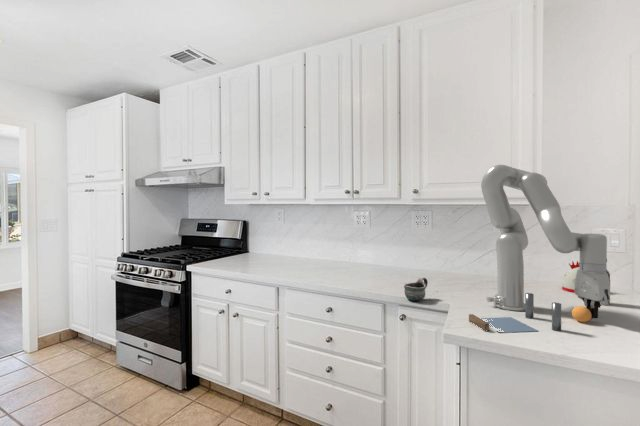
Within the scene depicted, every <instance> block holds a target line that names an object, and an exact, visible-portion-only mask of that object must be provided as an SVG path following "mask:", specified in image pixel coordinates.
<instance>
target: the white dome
mask: <svg viewBox="0 0 640 426" xmlns="http://www.w3.org/2000/svg"><path fill="white" fill-rule="evenodd" d="M578 263H579V261H578V260H577V261H576V263H574V261H573V260H572V263H569V262H568V265H569V267H570V269H569V271H567V273H565V274H564V278H563V281H562V283H561V289H562V291H564V292H568V293H573V294H575V292H574V288H575V278H576V273H577V270H578V269H580V266H579V265H578Z"/></svg>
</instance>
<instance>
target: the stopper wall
mask: <svg viewBox="0 0 640 426" xmlns="http://www.w3.org/2000/svg"><path fill="white" fill-rule="evenodd" d="M480 318H481V317H478V316H476V315H475V314H473V313H472V314H471V313H469V314H468V322H469V321H471V322H472V324H473V323H474V324H475V325H474V324H473V325H474V326H476V325H477V326H478V328H479V327H480V328H482V329H483V330H482V329H481V330H482V331H484V330H489V331H490V327H489V323H487V322H485V321H483V320H482V319H480ZM471 322H470V323H471ZM477 326H476V327H477ZM480 328H479V329H480Z"/></svg>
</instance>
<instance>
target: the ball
mask: <svg viewBox="0 0 640 426" xmlns="http://www.w3.org/2000/svg"><path fill="white" fill-rule="evenodd" d="M571 315H572V318H573V319H574V320H576V321H577V322H579V323H588V322H589V321H591V320H592V319H591V317H592V315H591V312H590V311H589V310H588V309H587V308H586V306H581V305H577V306H575V307H573V309H572V311H571Z"/></svg>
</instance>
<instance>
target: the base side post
mask: <svg viewBox="0 0 640 426" xmlns="http://www.w3.org/2000/svg"><path fill="white" fill-rule="evenodd" d="M524 295H525V297H524V303H525V310H524V311H525V312H524V313H525V314H524V315H525V318H526V319H530V320H533V319H534V316H535V314H534V313H535V312H534V307H535V306H534V305H535V304H534V302H535V301H534V300H535V299H534V293H531V292H525V293H524Z"/></svg>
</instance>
